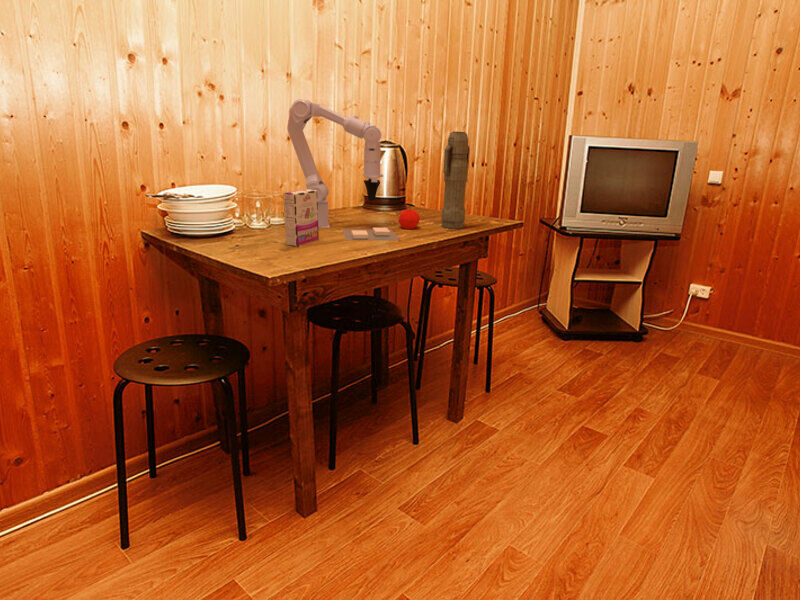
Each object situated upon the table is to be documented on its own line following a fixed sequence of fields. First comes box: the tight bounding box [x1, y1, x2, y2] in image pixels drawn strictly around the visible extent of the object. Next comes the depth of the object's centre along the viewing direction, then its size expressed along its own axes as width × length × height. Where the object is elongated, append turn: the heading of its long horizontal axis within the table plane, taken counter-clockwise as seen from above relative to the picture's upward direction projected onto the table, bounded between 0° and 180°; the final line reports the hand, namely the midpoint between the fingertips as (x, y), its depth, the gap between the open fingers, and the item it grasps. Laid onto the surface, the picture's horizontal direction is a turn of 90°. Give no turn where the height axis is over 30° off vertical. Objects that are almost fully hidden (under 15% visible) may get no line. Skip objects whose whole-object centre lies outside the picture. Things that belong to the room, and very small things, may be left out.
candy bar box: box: [283, 188, 320, 248], centre depth 170 cm, size 11×5×16 cm, turn 151°
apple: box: [398, 209, 421, 230], centre depth 198 cm, size 8×8×7 cm
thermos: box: [440, 131, 471, 230], centre depth 202 cm, size 9×12×35 cm
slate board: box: [341, 229, 401, 241], centre depth 185 cm, size 18×18×1 cm
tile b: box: [372, 227, 390, 236], centre depth 186 cm, size 5×2×7 cm
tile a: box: [350, 229, 368, 239], centre depth 180 cm, size 5×2×7 cm
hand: (371, 200), depth 195 cm, fingers closed
